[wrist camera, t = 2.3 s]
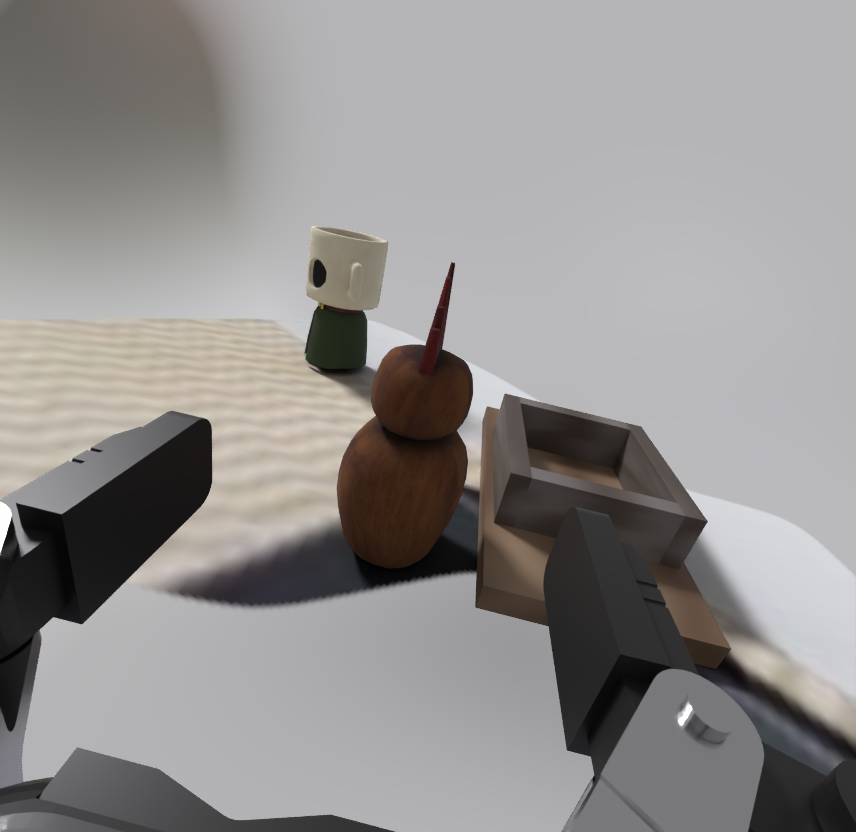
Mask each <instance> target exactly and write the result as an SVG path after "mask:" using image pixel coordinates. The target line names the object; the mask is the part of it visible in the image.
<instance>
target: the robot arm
mask: <svg viewBox="0 0 856 832" xmlns="http://www.w3.org/2000/svg"><path fill="white" fill-rule="evenodd" d="M211 484H212V428H211V424H210V422H209V421H208V420H207V419H205V418H200V417H196V416H192V415H188V414H183V413H179V412H175V411H170V412H167V413H165V414H164V415H162V416H160V417H159V418H157V419H155V420H154V421H152V422H150V423H149V424H147V425H145V426H144V427H138V428H135V429H132V430H128V431H125V432H122V433H118V434H115V435H112V436H111V437H109V438H107V439H105V440H104V441H102V442H100V443H98V444H97V445H95V446H93V447H91V450H90V451H88V450H86V451H84V452H83V453H81V454H79V455H77V456H76V457H74V458H73V460H72V461H71V462H70V461H67V462H65V463H64V464H62V465H60V466H58V467H57V468H55V469H53V470H51V471H50V472H48V473H46V474H44V475H43V476H41V477H39V478H37V479H36V480H34V481H32V482H30V483H29V484H27V485H25V486H23V487H22V488H20V489H18V490H16V491H15V492H13V493H11V494H9V495H8V496H6V497H4V498H2V499H1V500H0V832H394V831H390V830H387V829H383V828H379V827H375V826H371V825H368V824H364V823H360V822H356V821H353V820H349V819H345V818H341V817H338V816H334V815H319V816H305V817H288V818H273V819H258V820H233V819H229V818H227V817H226V816H224V815H222V814H221V813H220V812H218V811H217V810H215V809H214V808H213V807H211V806H210V805H208V804H207V803H205V802H204V801H202V800H201V799H200V798H198V797H197V796H196V795H194V794H193V793H191V792H190V791H189V790H187V789H186V788H184V787H183V786H182V785H180V784H179V783H177V782H176V781H174V780H173V779H172V778H170V777H169V776H168V775H166V774H165V773H163V772H162V771H161V770H159V769H156V768H152V767H149V766H145V765H141V764H137V763H133V762H130V761H126V760H122V759H118V758H115V757H111V756H107V755H103V754H99V753H96V752H92V751H88V750H85V749H81V748H76V750H75V751H74V752H73V754H72V755H71V756H70V757H69V759H68V760H67V761H66V762H65V764H64V765H63V766H62V767H61V769H60V770H59V771H58V773H57V774H56V775H55V777H51V778H44V779H39V780H33V781H27V782H23V773H22V749H23V741H24V734H25V730H26V724H27V719H28V713H29V708H30V702H31V696H32V691H33V686H34V680H35V675H36V669H37V664H38V658H39V653H40V647H41V634H40V631H39V630H40V628H42V627H43V626H44V625H45V624H46V623H47V622H48V621H49V620H51V619H52V618H53V617H55V618H59V619H63V620H67V621H71V622H75V623H79V624H83V623H84V622H85V621H86V620H87V619H88V618H89V617H90V616H91V615H92V614H93V613H94V612H95V611H96V610H97V609H98V608H99V607H100V606H101V605H102V604H103V603H104V602H105V601H106V600H107V599H108V598H109V597H110V596H111V595H112V594H113V593H114V592H115V591H116V590H117V589H118V588H119V587H120V586H121V585H122V584H123V583H124V582H125V581H126V580H127V579H128V578H129V577H130V576H131V575H132V574H133V573H134V572H135V571H136V570H137V569H138V568H139V567H140V566H141V565H142V564H143V563H144V562H145V561H146V560H147V559H148V558H149V557H150V556H151V555H152V554H153V553H154V552H155V551H156V550H158V549H159V548H160V547H161V546H162V545H163V544H164V543H165V542H166V541H167V540H168V539H169V538H170V537H171V536H172V535H173V534H174V533H175V532H176V531H177V530H178V529H179V528H180V527H181V526H182V525H183V524H184V523H185V522H186V521H187V520H188V519H189V518H190V517H191V516H192V515H193V514H194V513H195V512H196V511H197V510H198V509H199V508H200V507H201V506H202V504H203V503H204V502H205V500H206V498H207V496H208V494H209V491H210V488H211ZM657 586H658V585H657V582H656V580H655V578H654V576H653V574H652V572H651V569H650V567H649V565H648V564H647V563H646V561H645V560H644V559H643V558H642V557H641V556H640V555H639V554H638V553H637V552H636V550H635V549H634V548H633V547H632V546H631V545H630V544H627V543H622V542H620V540H619V537H618V535H617V533H616V530H615V528H614V525H613V523H612V520H611V518H610V517H609V515H607V514H603V513H599V512H594V511H590V510H586V509H582V508H577V507H571V508H570V509H569V510H568V511H567V513H566V515H565V518H564V520H563V523H562V525H561V528H560V530H559V533H558V535H557V538H556V540H555V543H554V545H553V548H552V550H551V553H550V555H549V558H548V560H547V563H546V567H545V572H544V580H543V590H544V597H545V604H546V611H547V618H548V625H549V631H550V638H551V645H552V652H553V659H554V665H555V672H556V679H557V686H558V692H559V699H560V706H561V713H562V720H563V726H564V734H565V740H566V747H567V750H568V751H571V752H575V753H579V754H584V755H587V756H591V759H592V764H593V770H594V777H593V778H592V780H591V781H590V783H589V785H588V786H587V788H586V790H585V792H584V793H583V795H582V797H581V799H580V800H579V802H578V804H577V806H576V808H575V809H574V811H573V812H572V814H571V816H570V818H569V819H568V821H567V823H566V825H565V826H564V828H563V830H562V832H856V760H846V761H843V762H842V763H840V764H839V765H838V766H837V767H836V768H835V769H834V770H833V771H832V772H831V773H830V774H829V775H828V776H825V775H823V774H821V773H819V772H818V771H816V770H814V769H812V768H810V767H808V766H806V765H804V764H802V763H801V762H799V761H797V760H795V759H793V758H791V757H789V756H787V755H785V754H784V753H782V752H780V751H778V750H776V749H774V748H772V747H770V746H769V745H767V744H765V743H763V742H762V741H761V739H760V736H759V734H758V732H757V730H756V728H755V726H754V725H753V723H752V722H751V720H750V719H749V717H748V716H747V715H746V713H745V712H744V711H743V710H742V708H741V707H740V706H739V705H738V704H737V703H736V702H735V701H734V700H733V699H732V698H731V697H730V696H729V695H728V694H726V693H725V692H724V691H723V690H721V689H720V688H719V687H718V686H716V685H715V684H713V683H711V682H710V681H708V680H707V679H705V678H703V677H701V676H699V673H698V671H697V669H696V667H695V665H694V663H693V660H692V658H691V656H690V654H689V652H688V650H687V647H686V645H685V643H684V641H683V639H682V637H681V634H680V632H679V630H678V628H677V626H676V624H675V621H674V619H673V617H672V615H671V613H670V611H669V608H667V607H666V602H665V600H664V598H663V595H662V593H661V591H660V590H659V589H657Z"/></svg>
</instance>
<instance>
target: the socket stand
mask: <svg viewBox="0 0 856 832" xmlns="http://www.w3.org/2000/svg"><path fill="white" fill-rule="evenodd" d="M571 507H577V508H582V509H586V510H590V511H594V512H599V513H603V514H607V515H609V517H610V518H611V520H612V523H613V525H614V528H615V530H616V533H617V535H618V537H619V540H620V542H622V543H627V544H630V545H631V546H632V547H633V548H634V549H635V550H636V552H637V553H638V554H639V555H640V556H641V557H642V558H643V559H644V560H645V561H646V563H647V564H648V565H649V567H650V569H651V572H652V574H653V576H654V578H655V580H656V582H657V585H658V586H657V589H659V590H660V591H661V593H662V595H663V598H664V600H665V602H666V607H667V608H669V611H670V613H671V615H672V617H673V619H674V621H675V624H676V626H677V628H678V630H679V632H680V634H681V637H682V639H683V641H684V643H685V645H686V647H687V650H688V652H689V654H690V656H691V658H692V660H693V663H694V664H698V665H702V666H706V667H709V668H713V669H716V668H717V667H718V666H719V664H720V663H721V662H722V660H723V659H724V658H725V656H726V655H727V654H728V652H729V651H730V650H731V648H730V646H729V644H728V642H727V640H726V639H725V637H724V635H723V633H722V631H721V630H720V628H719V626H718V624H717V622H716V620H715V619H714V617H713V615H712V613H711V611H710V610H709V608H708V606H707V604H706V602H705V601H704V599H703V597H702V595H701V593H700V591H699V590H698V588H697V586H696V584H695V582H694V581H693V579H692V577H691V575H690V573H689V571H688V570H687V568H686V566H685V564H684V560H685V558H686V557H687V555H688V553H689V552H690V550H691V548H692V547H693V545H694V543H695V542H696V540H697V538H698V537H699V535H700V533H701V532H702V530H703V528H704V527H705V525H706V523H707V522H708V521H707V520H706V518H705V517H704V516H703V514H702V513H701V511H700V510H699V508H698V507H697V506H696V504H695V503H694V501H693V500H692V498H691V497H690V496H689V494H688V493H687V491H686V490H685V488H684V487H683V486H682V484H681V483H680V481H679V480H678V478H677V477H676V476H675V474H674V473H673V472H672V470H671V469H670V467H669V466H668V464H667V463H666V461H665V460H664V459H663V457H662V456H661V454H660V453H659V451H658V450H657V449H656V447H655V446H654V445H653V443H652V441H651V440H650V439H649V437H648V436H647V435H646V433H645V432H644V430H643V429H642V427H641V426H636V425H632V424H628V423H624V422H620V421H616V420H612V419H607V418H603V417H599V416H595V415H591V414H587V413H583V412H579V411H574V410H570V409H566V408H562V407H558V406H554V405H549V404H546V403H541V402H537V401H533V400H529V399H525V398H521V397H517V396H513V395H508V394H504V398H503V401H502V404H501V408H500V410H499V409H495V408H491V407H487V408H486V411H485V415H484V418H483V428H482V453H481V479H480V504H479V529H478V554H477V580H476V605H475V606H476V608H480V609H484V610H488V611H491V612H496V613H499V614H503V615H507V616H511V617H515V618H519V619H522V620H526V621H530V622H534V623H538V624H542V625H546V626H549V625H548V618H547V611H546V604H545V597H544V590H543V580H544V572H545V567H546V563H547V560H548V558H549V555H550V553H551V550H552V548H553V545H554V543H555V540H556V538H557V535H558V533H559V530H560V528H561V525H562V523H563V520H564V518H565V515H566V513H567V511H568V510H569V509H570V508H571Z"/></svg>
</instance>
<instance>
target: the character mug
mask: <svg viewBox="0 0 856 832" xmlns="http://www.w3.org/2000/svg"><path fill="white" fill-rule="evenodd" d="M387 250H388V242H387V241H386V240H383V239H381V238H378V237H375V236H372V235H368V234H364V233H360V232H355V231H351V230H345V229H339V228H332V227H324V226H312V230H311V239H310V252H309V261H308V268H307V284H306V291H307V296H308V297H310V298H312V299H314V300H316V301H318V302H319V303H318V307H317V308H316V310H315V311H314V314H313V318H312V322H311V326H310V330H309V334H308V338H307V343H306V349H305V353H306V360H307V361H308V362H310V363H311V364H313V365H316V366H319V367H322V368H325V369H335V370H339V369H341V368H359V367H363V366H364V365H365V364H366V353H367V319H366V316H365V314H364V312H363V310H370V309H374V308H376V307H378V304H379V299H380V293H381V288H382V281H383V275H384V269H385V262H386V255H387Z"/></svg>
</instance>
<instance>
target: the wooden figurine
mask: <svg viewBox="0 0 856 832" xmlns="http://www.w3.org/2000/svg"><path fill="white" fill-rule="evenodd" d="M454 268H455V263H451V265H450V269H449V272H448V276H447V277H446V280H445V284H444V287H443V290H442V294H441V297H440V301H439V304H438V306H437V310H436V313H435V316H434V320H433V323H432V327H431V329H430V332H429V336H428V339H427V343H426V346H425V345H405V346H399V347H395V348H393V349H392V350H390V351H389V352H388V353H387V355H386V356H385V357H384V358H383V359H382V362H381V364H380V366H379V368H378V370H377V373H376V375H375V378H374V383H373V388H372V397H371V402H372V407H373V410H374V412H375V414H376V416H375V417H374V418H373V419H371V420H370V421H369V422H368V423H367V424H366V425H364V426H363V427H362V428H361V429H360V430H359V431H358V432H357V434H356V435H355V436H354V438H353V439H352V440H351V442H350V444H349V446H348V448H347V450H346V452H345V453H344V455H343V459H342V462H341V466H340V470H339V474H338V483H337V497H338V508H339V513H340V519H341V524H342V528H343V533H344V536H345V537H346V539H347V541H348V543H349V545H350V546H351V548H352V549H353V550H354V551H355V553H356V554H357V555H358V556H359V557H360V558H361V559H363V560H365V561H367V562H369V563H371V564H374V565H377V566H381V567H384V568H405V567H407V566H409V565H412V564H414V563H416V562H418V561H420V560H421V559H422V558H423V557H425V556H426V555H427V554H428V553H429V552H430V550H431V549H432V547H433V546H434V544H435V543H436V541H437V540H438V538H439V537H440V535H441V534H442V532H443V531H444V529H445V528H446V526H447V525H448V523H449V522H450V520H451V517H452V515H453V513H454V511H455V509H456V506H457V504H458V502H459V499H460V497H461V494H462V490H463V487H464V484H465V480H466V474H467V465H468V458H467V451H466V446H465V444H464V442H463V441H462V439H461V437H460V435H459V434H458V432H457V429H458V428H459V427H460V426H461V425H462V424H463V422H464V420H465V419H466V417H467V415H468V412H469V409H470V405H471V401H472V396H473V379H472V373H471V371H470V369H469V367H468V365H467V364H466V362H465V361H464V360H462V359H461V358H459V357H457V356H455V355H454V354H452V353H450V352H447V351H445V350H442V346H443V339H444V333H445V326H446V319H447V313H448V307H449V300H450V293H451V287H452V281H453V274H454Z"/></svg>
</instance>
